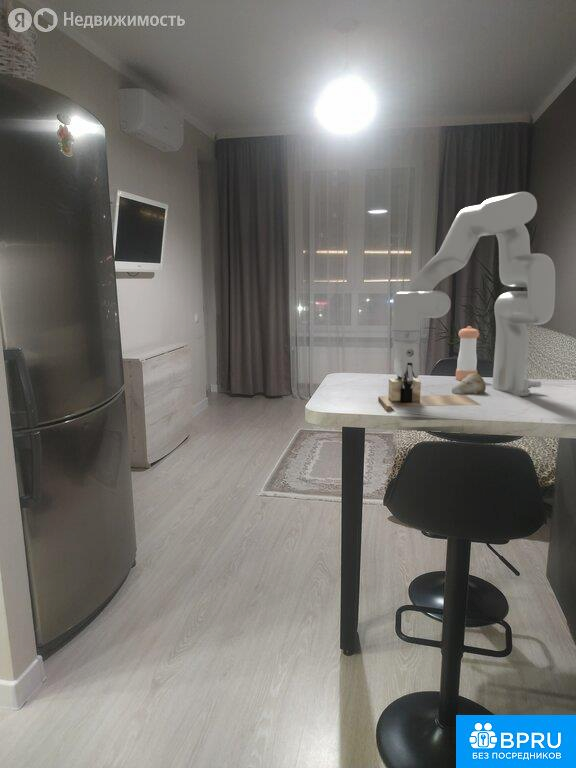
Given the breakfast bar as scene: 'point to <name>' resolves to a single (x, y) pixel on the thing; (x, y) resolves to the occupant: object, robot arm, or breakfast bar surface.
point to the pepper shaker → (467, 353)
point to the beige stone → (470, 385)
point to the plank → (429, 401)
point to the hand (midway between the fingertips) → (403, 399)
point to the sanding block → (396, 387)
